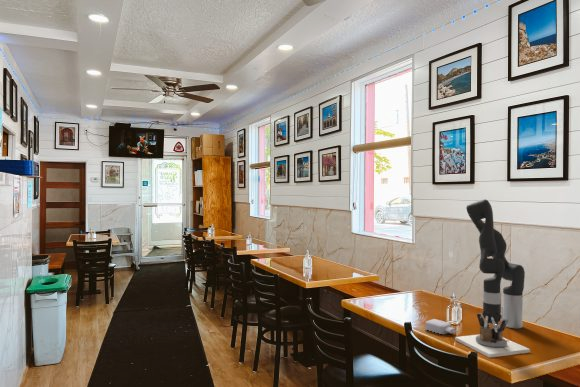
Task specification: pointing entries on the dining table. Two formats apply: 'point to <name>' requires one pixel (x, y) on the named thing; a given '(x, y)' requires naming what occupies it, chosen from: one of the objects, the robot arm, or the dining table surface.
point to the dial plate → (490, 351)
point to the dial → (490, 338)
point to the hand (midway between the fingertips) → (491, 338)
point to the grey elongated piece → (439, 326)
